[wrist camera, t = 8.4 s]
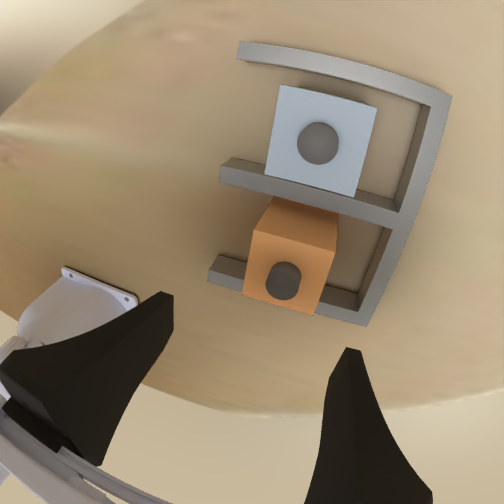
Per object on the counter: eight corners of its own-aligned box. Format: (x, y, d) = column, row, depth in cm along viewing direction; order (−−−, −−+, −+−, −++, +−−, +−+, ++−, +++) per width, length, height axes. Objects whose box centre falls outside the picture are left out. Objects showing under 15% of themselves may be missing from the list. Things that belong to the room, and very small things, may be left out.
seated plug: (283, 152, 18) (258, 180, 13) (296, 86, 16) (275, 84, 11) (350, 170, 17) (354, 205, 12) (366, 104, 15) (380, 109, 10)
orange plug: (263, 251, 21) (236, 306, 16) (274, 195, 19) (247, 238, 14) (321, 267, 21) (310, 327, 16) (337, 213, 19) (334, 263, 14)
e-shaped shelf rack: (217, 266, 23) (207, 281, 21) (250, 45, 15) (239, 40, 13) (365, 308, 21) (366, 327, 20) (441, 94, 14) (452, 95, 12)
